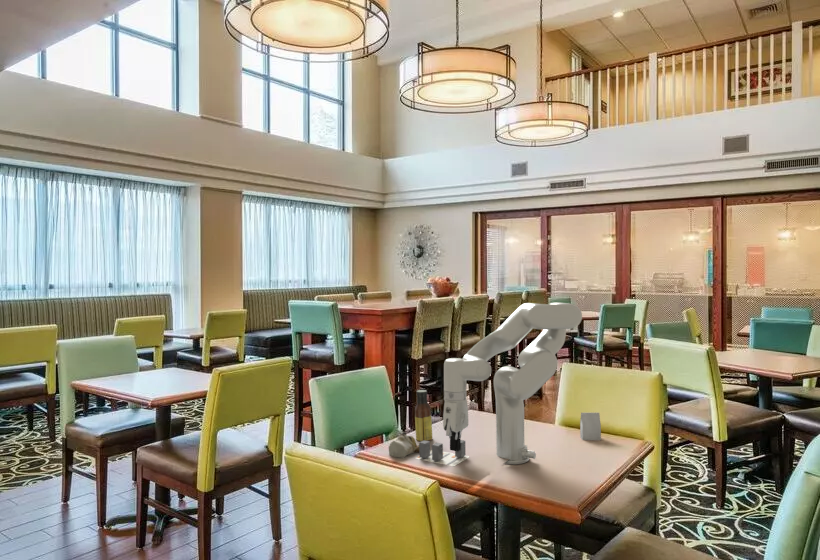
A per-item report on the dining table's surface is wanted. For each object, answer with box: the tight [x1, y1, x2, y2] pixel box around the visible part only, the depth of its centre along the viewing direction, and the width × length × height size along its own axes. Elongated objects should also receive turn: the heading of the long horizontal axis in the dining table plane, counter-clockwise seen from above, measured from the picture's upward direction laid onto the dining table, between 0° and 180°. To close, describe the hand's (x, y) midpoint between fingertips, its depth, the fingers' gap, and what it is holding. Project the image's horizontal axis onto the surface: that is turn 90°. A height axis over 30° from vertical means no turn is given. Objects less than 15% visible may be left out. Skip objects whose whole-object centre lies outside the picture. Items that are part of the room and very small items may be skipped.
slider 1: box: [418, 440, 431, 459], centre depth 192 cm, size 2×3×5 cm
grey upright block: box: [579, 412, 602, 441], centre depth 216 cm, size 4×7×10 cm, turn 87°
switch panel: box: [414, 449, 470, 467], centre depth 192 cm, size 15×11×2 cm
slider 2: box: [431, 442, 444, 461], centre depth 190 cm, size 2×3×5 cm
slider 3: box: [454, 439, 467, 458], centre depth 193 cm, size 2×3×5 cm
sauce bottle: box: [414, 389, 433, 442], centre depth 214 cm, size 6×6×20 cm
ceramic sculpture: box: [388, 432, 419, 458], centre depth 199 cm, size 11×9×15 cm
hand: (455, 450), depth 190 cm, fingers closed
